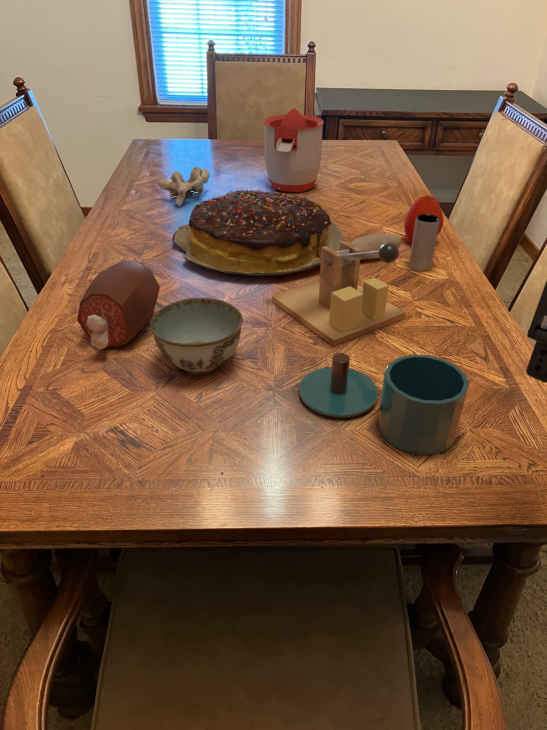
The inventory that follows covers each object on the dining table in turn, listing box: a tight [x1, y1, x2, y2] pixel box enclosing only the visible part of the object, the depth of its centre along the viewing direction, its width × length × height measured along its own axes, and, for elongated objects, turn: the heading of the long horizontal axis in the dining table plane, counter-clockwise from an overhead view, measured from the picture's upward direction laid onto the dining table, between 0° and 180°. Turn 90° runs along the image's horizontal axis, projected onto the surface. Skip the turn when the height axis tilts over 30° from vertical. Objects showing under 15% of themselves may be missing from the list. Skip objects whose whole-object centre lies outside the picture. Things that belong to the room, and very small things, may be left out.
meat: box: [76, 258, 161, 351], centre depth 94 cm, size 20×12×10 cm, turn 170°
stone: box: [350, 233, 402, 260], centre depth 119 cm, size 6×6×12 cm
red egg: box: [403, 194, 444, 244], centre depth 124 cm, size 8×8×11 cm
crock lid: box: [298, 352, 379, 418], centre depth 81 cm, size 11×11×7 cm
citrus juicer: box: [262, 108, 325, 193], centre depth 151 cm, size 16×17×20 cm
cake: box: [171, 189, 346, 277], centre depth 123 cm, size 37×37×10 cm
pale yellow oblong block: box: [329, 286, 364, 333], centre depth 94 cm, size 3×4×6 cm
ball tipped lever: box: [336, 243, 400, 266], centre depth 92 cm, size 15×3×3 cm, turn 34°
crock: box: [377, 354, 470, 456], centre depth 74 cm, size 10×10×8 cm
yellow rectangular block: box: [362, 277, 389, 320], centre depth 97 cm, size 3×2×6 cm
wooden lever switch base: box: [271, 240, 406, 347], centre depth 99 cm, size 18×16×12 cm
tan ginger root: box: [157, 166, 211, 208], centre depth 148 cm, size 9×14×8 cm, turn 136°
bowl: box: [149, 297, 244, 376], centre depth 87 cm, size 14×13×8 cm
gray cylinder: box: [408, 214, 440, 272], centre depth 114 cm, size 4×4×10 cm
